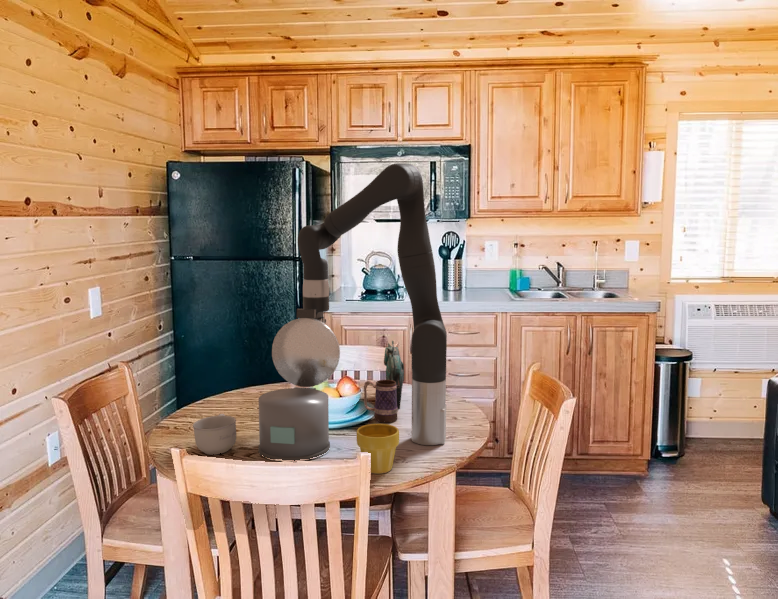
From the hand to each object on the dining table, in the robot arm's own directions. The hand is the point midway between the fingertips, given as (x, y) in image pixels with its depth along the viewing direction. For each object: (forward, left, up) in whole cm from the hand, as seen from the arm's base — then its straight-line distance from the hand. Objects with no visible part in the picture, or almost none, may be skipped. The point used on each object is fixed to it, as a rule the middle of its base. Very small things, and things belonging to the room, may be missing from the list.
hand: (316, 353), depth 186 cm
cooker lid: (0, +11, +4) cm, 12 cm away
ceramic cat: (-19, -26, -21) cm, 39 cm away
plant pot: (-24, +31, -21) cm, 44 cm away
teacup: (+20, +25, -21) cm, 38 cm away
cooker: (0, +22, -21) cm, 30 cm away
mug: (-18, -6, -21) cm, 28 cm away
